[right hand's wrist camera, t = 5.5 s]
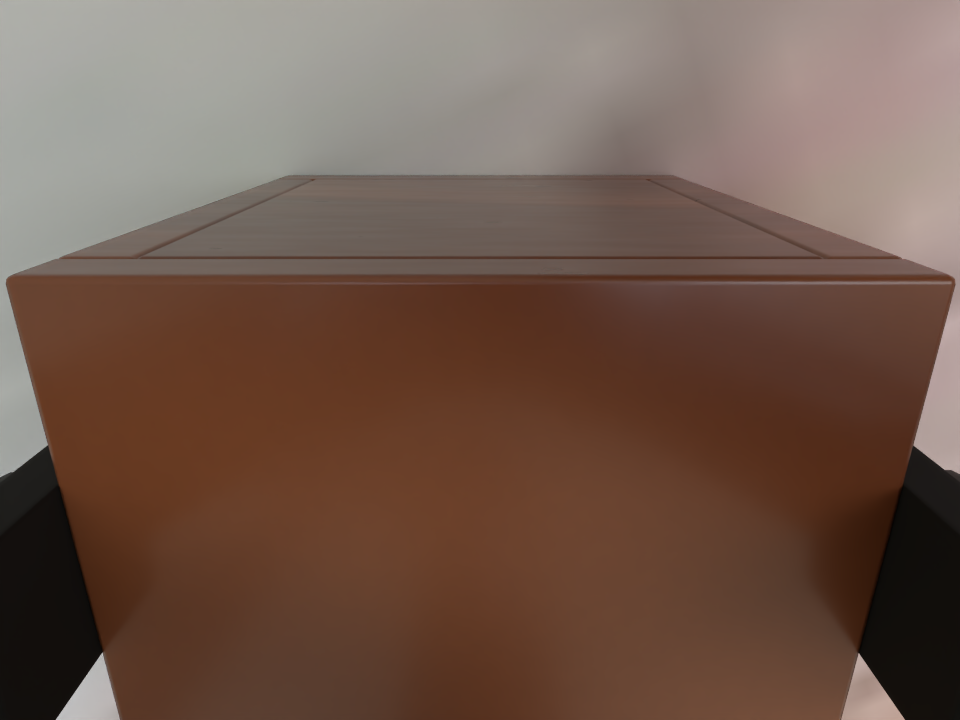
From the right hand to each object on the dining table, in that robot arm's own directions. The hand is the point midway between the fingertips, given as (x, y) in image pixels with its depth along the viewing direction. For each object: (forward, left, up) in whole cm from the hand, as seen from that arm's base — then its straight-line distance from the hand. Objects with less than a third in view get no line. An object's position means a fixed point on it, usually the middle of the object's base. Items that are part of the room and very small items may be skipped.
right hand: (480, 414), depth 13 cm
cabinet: (+3, +5, -7) cm, 9 cm away
